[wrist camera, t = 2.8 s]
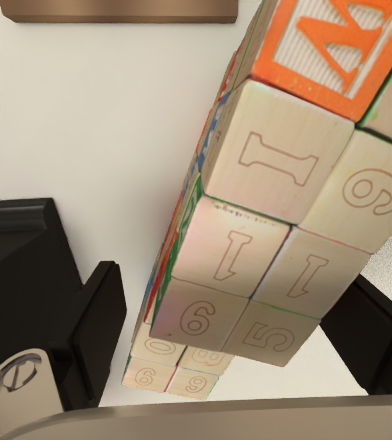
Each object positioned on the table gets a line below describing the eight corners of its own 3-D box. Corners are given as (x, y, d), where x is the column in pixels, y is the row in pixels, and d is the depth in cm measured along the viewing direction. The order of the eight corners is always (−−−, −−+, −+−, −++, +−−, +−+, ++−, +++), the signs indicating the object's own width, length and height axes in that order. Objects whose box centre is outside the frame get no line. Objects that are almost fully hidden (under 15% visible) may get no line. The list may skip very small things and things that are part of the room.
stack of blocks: (200, 304, 24) (206, 464, 13) (145, 288, 23) (98, 447, 12) (305, 96, 16) (581, 31, 5) (227, 59, 15) (333, -139, 4)
